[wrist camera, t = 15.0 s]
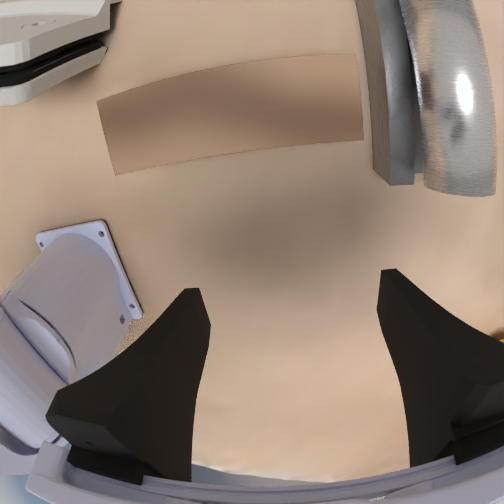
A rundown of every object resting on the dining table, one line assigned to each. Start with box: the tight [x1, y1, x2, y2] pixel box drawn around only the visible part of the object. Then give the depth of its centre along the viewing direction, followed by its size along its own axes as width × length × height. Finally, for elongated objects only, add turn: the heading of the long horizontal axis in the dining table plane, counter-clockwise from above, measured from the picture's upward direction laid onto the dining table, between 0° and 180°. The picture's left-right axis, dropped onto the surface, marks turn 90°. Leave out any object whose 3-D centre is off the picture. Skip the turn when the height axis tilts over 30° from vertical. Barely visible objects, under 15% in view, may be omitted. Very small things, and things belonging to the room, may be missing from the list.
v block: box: [356, 0, 423, 186], centre depth 13 cm, size 12×6×3 cm, turn 9°
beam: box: [97, 54, 364, 176], centre depth 15 cm, size 4×12×5 cm, turn 99°
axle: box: [399, 0, 497, 197], centre depth 10 cm, size 10×4×4 cm, turn 9°
